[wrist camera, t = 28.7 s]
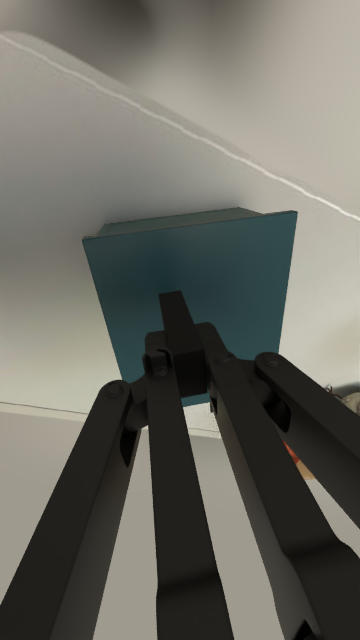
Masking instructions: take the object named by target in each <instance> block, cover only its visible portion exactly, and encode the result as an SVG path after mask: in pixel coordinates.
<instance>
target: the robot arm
mask: <svg viewBox="0 0 360 640" xmlns="http://www.w3.org/2000/svg"><path fill="white" fill-rule="evenodd" d="M158 295H159V302H160V308H161V314H162V321H163V327H164V330H161V331H155V332H149V333H147V335H146V337H145V338H144V340H145V353H144V354H143V356H142V362H143V366H144V371H145V373H144V374H143V376H142V377H141V378H139V379H138V380H136V381H134V382H132V383H128V382H126V381H124V380H114V381H111V382H109V383H107V384H106V385H104V386H103V387H102V388H101V390H100V391H99V393H98V395H97V398H96V400H95V402H94V404H93V406H92V408H91V410H90V413H89V415H88V417H87V419H86V421H85V424H84V426H83V428H82V430H81V432H80V434H79V437H78V439H77V441H76V443H75V445H74V447H73V449H72V452H71V454H70V456H69V458H68V460H67V462H66V465H65V467H64V469H63V471H62V473H61V476H60V478H59V480H58V482H57V484H56V486H55V489H54V490H53V493H52V495H51V497H50V499H49V501H48V504H47V506H46V508H45V510H44V512H43V514H42V516H41V519H40V521H39V523H38V525H37V527H36V529H35V532H34V534H33V536H32V538H31V540H30V542H29V545H28V547H27V549H26V551H25V553H24V555H23V558H22V560H21V562H20V564H19V566H18V568H17V570H16V573H15V575H14V577H13V579H12V581H11V583H10V586H9V588H8V590H7V592H6V595H5V596H4V599H3V601H2V603H1V605H0V640H92V639H93V635H94V631H95V627H96V622H97V618H98V614H99V609H100V605H101V601H102V597H103V593H104V588H105V584H106V580H107V575H108V571H109V567H110V563H111V558H112V554H113V550H114V546H115V541H116V537H117V533H118V529H119V524H120V520H121V516H122V511H123V507H124V503H125V499H126V494H127V490H128V486H129V482H130V477H131V473H132V469H133V464H134V460H135V456H136V452H137V448H138V443H139V439H140V435H141V428H143V427H145V426H147V425H148V429H149V445H150V461H151V478H152V494H153V510H154V525H155V526H154V527H155V541H156V542H155V543H156V558H157V576H158V589H157V596H156V616H157V617H156V618H157V639H158V640H234V636H233V632H232V627H231V623H230V618H229V613H228V609H227V604H226V600H225V595H224V591H223V587H222V583H221V579H220V576H219V573H218V569H217V564H216V560H215V555H214V551H213V546H212V541H211V537H210V532H209V528H208V523H207V518H206V513H205V509H204V504H203V499H202V495H201V490H200V485H199V481H198V476H197V471H196V466H195V462H194V457H193V453H192V448H191V444H190V438H189V434H188V429H187V424H186V420H185V415H184V410H183V406H182V401H181V398H186V397H191V396H196V395H201V394H206V393H207V388H208V391H209V394H210V410H211V413H212V412H214V415H215V418H216V421H217V424H218V427H219V430H220V433H221V436H222V439H223V442H224V445H225V448H226V451H227V454H228V458H229V461H230V463H231V467H232V470H233V473H234V475H235V479H236V482H237V485H238V487H239V491H240V494H241V497H242V499H243V502H244V505H245V509H246V512H247V515H248V518H249V520H250V524H251V527H252V530H253V533H254V536H255V539H256V542H257V545H258V548H259V551H260V554H261V557H262V560H263V563H264V566H265V569H266V572H267V575H268V578H269V581H270V585H271V588H272V591H273V596H274V602H275V607H276V611H277V615H278V619H279V622H280V626H281V629H282V632H283V635H284V638H285V640H360V558H359V557H358V556H357V554H356V553H355V552H354V551H353V550H352V549H351V547H349V546H348V545H346V544H345V543H343V542H342V541H340V540H339V539H338V538H337V536H336V535H335V534H334V532H333V530H332V529H331V527H330V525H329V523H328V522H327V520H326V518H325V516H324V515H323V512H322V511H321V509H320V507H319V505H318V504H317V502H316V500H315V498H314V496H313V495H312V493H311V491H310V489H309V487H308V485H307V484H306V482H305V480H304V478H303V477H302V475H301V473H300V471H299V469H298V468H297V466H296V464H295V462H294V460H293V459H292V457H291V455H290V453H289V451H288V450H287V448H286V446H285V444H284V442H285V443H286V444H287V446H288V447H289V448H290V449H291V450H292V451H293V453H294V454H295V455H296V456H297V457H298V458H299V459H300V461H301V462H302V463H303V464H304V465H305V466H306V468H307V469H308V470H309V471H310V472H311V473H312V475H313V476H314V477H315V478H316V479H317V480H318V481H319V482H320V484H321V485H322V486H323V487H324V488H325V489H326V491H327V492H328V493H329V494H330V495H331V496H332V498H333V499H334V500H335V501H336V502H337V503H338V504H339V506H340V507H341V508H342V509H343V510H344V512H345V513H346V514H347V515H348V516H349V517H350V519H351V520H352V521H353V522H354V523H355V524H356V525H357V527H358V528H359V529H360V416H358V415H357V414H356V413H355V412H353V411H352V410H351V409H349V408H348V407H347V406H346V405H344V404H343V403H342V402H340V401H339V400H338V399H337V398H335V397H334V396H333V395H331V394H330V393H329V392H328V391H326V390H325V389H324V388H323V387H321V386H320V385H319V384H317V383H316V382H315V381H314V380H312V379H311V378H310V377H308V376H307V375H306V374H305V373H303V372H302V371H301V370H299V369H298V368H297V367H296V366H294V365H293V364H292V363H291V362H289V361H288V360H287V359H285V358H284V357H283V356H281V355H279V354H278V353H274V352H262V353H260V354H258V355H257V356H256V357H255V360H243V359H238V358H236V356H235V355H234V354H233V353H231V352H229V351H228V350H227V348H226V346H225V344H224V343H223V341H222V339H221V337H220V335H219V333H218V332H217V329H216V328H215V326H214V325H213V324H211V323H210V322H204V323H198V324H194V322H193V319H192V317H191V314H190V312H189V309H188V307H187V304H186V302H185V299H184V297H183V294H182V292H181V290H179V291H172V292H166V293H160V294H158ZM282 440H283V441H284V442H283V441H282Z"/></svg>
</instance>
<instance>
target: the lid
mask: <svg viewBox="0 0 360 640" xmlns="http://www.w3.org/2000/svg"><path fill="white" fill-rule="evenodd" d="M297 214H298V212H297V211H293V210H290V211H282V212H274V213H267V214H259V215H251V216H243V217H235V218H228V219H220V220H212V221H204V222H196V223H189V224H181V225H173V226H165V227H157V228H150V229H142V230H134V231H126V232H118V233H110V234H103V235H95V236H87V237H84V238H83V239H82V242H83V246H84V249H85V253H86V256H87V260H88V263H89V267H90V270H91V273H92V277H93V280H94V284H95V287H96V291H97V294H98V298H99V301H100V304H101V308H102V311H103V315H104V318H105V322H106V325H107V329H108V332H109V336H110V339H111V342H112V346H113V349H114V353H115V356H116V360H117V363H118V367H119V370H120V374H121V377H122V380H124V381H126V382H128V383H132V382H134V381H136V380H138V379H139V378H141V377H142V376H143V374H144V373H145V371H144V366H143V362H142V356H143V354H144V353H145V340H144V338H145V337H146V335H147V333H149V332H155V331H161V330H164V327H163V321H162V314H161V308H160V302H159V295H158V294H160V293H166V292H172V291H179V290H181V292H182V294H183V297H184V299H185V302H186V304H187V307H188V309H189V312H190V314H191V317H192V319H193V322H194V324H198V323H204V322H210V323H211V324H213V325H214V326H215V328H216V329H217V332H218V333H219V335H220V337H221V339H222V341H223V343H224V344H225V346H226V348H227V350H228V351H229V352H231V353H233V354H234V355H235V356H236V358H238V359H243V360H255V357H256V356H257V355H258V354H260V353H262V352H274V353H278V352H279V344H280V337H281V330H282V323H283V315H284V308H285V301H286V294H287V286H288V279H289V272H290V265H291V258H292V250H293V243H294V236H295V229H296V221H297ZM181 401H182V406H183V407H186V406H191V405H197V404H202V403H208V402H210V394H209V391H208V388H207V393H206V394H201V395H196V396H191V397H186V398H181Z"/></svg>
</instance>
